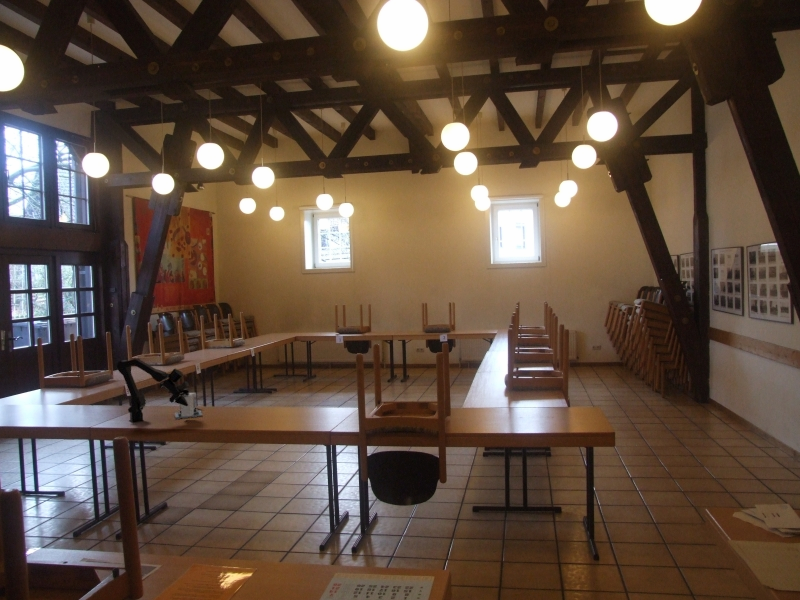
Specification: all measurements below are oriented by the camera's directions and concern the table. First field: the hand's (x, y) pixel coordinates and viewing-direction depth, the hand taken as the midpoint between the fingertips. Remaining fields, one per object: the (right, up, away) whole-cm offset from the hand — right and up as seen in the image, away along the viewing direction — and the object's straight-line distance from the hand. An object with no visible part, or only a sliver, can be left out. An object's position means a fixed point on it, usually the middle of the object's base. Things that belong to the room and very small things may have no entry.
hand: (189, 404), depth 363 cm
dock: (-6, -10, +14) cm, 18 cm away
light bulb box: (-13, -10, +34) cm, 38 cm away
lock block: (-1, -7, 0) cm, 7 cm away
